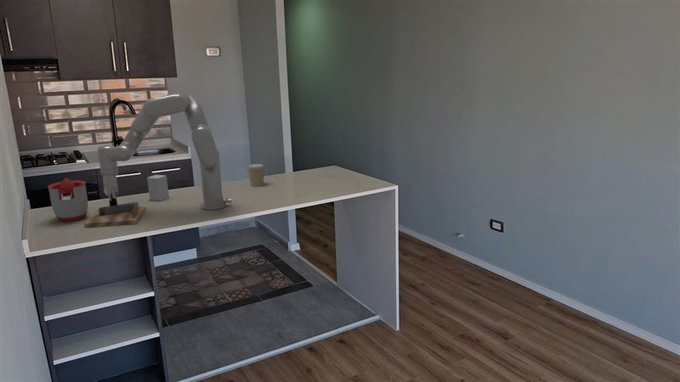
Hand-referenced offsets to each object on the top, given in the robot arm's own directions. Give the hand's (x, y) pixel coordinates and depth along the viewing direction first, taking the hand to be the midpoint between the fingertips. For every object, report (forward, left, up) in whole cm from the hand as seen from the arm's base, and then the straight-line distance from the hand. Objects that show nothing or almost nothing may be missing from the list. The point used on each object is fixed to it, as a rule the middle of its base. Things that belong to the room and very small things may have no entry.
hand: (113, 208), depth 233 cm
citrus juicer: (+18, +2, -4) cm, 19 cm away
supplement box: (-17, -26, -4) cm, 31 cm away
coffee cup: (-70, -45, -4) cm, 83 cm away
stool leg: (-3, +2, -1) cm, 4 cm away
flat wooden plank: (-3, +6, -4) cm, 8 cm away
